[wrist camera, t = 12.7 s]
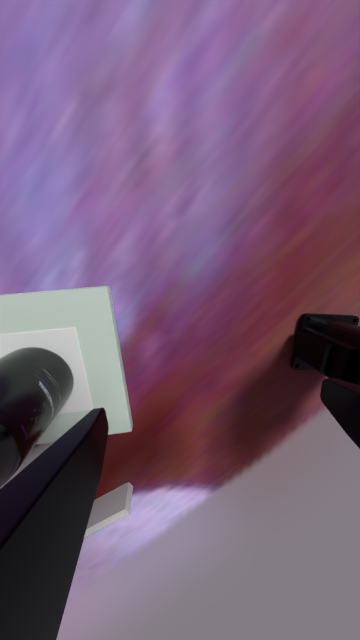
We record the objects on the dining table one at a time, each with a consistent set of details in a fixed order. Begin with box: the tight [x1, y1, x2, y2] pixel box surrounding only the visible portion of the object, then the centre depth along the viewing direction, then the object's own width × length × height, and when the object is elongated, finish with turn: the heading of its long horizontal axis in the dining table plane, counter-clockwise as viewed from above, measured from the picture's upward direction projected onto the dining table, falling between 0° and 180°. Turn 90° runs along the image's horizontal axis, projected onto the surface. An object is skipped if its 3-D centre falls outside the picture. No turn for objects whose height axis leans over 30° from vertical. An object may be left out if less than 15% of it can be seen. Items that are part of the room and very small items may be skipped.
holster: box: [1, 441, 133, 538], centre depth 23 cm, size 10×12×3 cm
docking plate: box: [0, 286, 133, 445], centre depth 20 cm, size 16×16×1 cm
